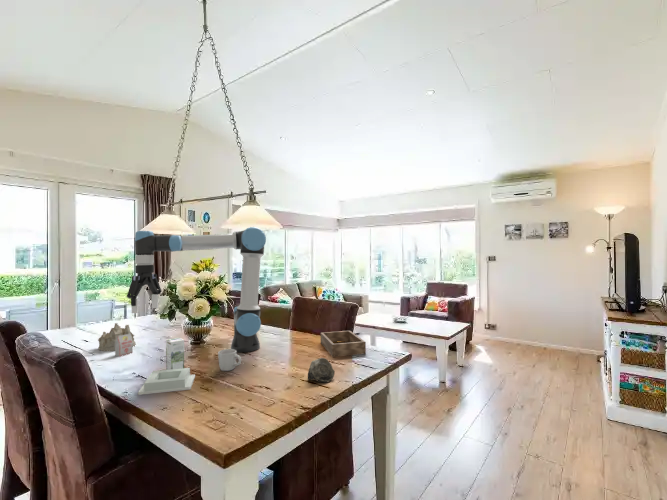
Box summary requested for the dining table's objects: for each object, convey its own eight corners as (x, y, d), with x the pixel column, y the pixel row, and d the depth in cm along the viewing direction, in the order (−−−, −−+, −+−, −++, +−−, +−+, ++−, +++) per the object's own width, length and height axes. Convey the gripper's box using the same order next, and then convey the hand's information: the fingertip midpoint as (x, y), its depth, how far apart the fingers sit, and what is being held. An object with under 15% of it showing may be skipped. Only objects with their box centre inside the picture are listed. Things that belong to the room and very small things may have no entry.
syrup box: (179, 369, 156) (179, 336, 156) (184, 372, 152) (184, 339, 152) (166, 372, 152) (165, 339, 152) (171, 376, 148) (170, 341, 148)
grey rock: (139, 345, 197) (137, 319, 197) (108, 354, 183) (106, 325, 183) (125, 343, 205) (123, 318, 205) (94, 351, 191) (92, 324, 191)
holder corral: (349, 340, 202) (349, 330, 202) (365, 353, 176) (365, 341, 176) (320, 343, 197) (320, 332, 197) (332, 356, 172) (332, 344, 172)
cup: (245, 368, 157) (245, 350, 157) (235, 373, 149) (235, 355, 149) (225, 365, 160) (225, 348, 160) (214, 371, 153) (214, 353, 153)
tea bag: (115, 355, 178) (115, 336, 178) (128, 352, 184) (128, 333, 184) (119, 356, 177) (119, 336, 177) (132, 353, 183) (132, 333, 183)
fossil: (325, 385, 134) (314, 360, 137) (308, 391, 139) (298, 368, 141) (339, 375, 144) (329, 352, 146) (323, 382, 148) (313, 359, 150)
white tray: (195, 376, 146) (195, 367, 146) (190, 389, 133) (190, 378, 133) (147, 381, 142) (147, 371, 142) (138, 394, 128) (138, 384, 128)
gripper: (154, 263, 173) (155, 306, 173) (116, 265, 149) (117, 315, 149) (168, 263, 172) (169, 306, 172) (132, 265, 148) (133, 315, 148)
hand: (145, 310), depth 161 cm, fingers open, 13 cm apart
